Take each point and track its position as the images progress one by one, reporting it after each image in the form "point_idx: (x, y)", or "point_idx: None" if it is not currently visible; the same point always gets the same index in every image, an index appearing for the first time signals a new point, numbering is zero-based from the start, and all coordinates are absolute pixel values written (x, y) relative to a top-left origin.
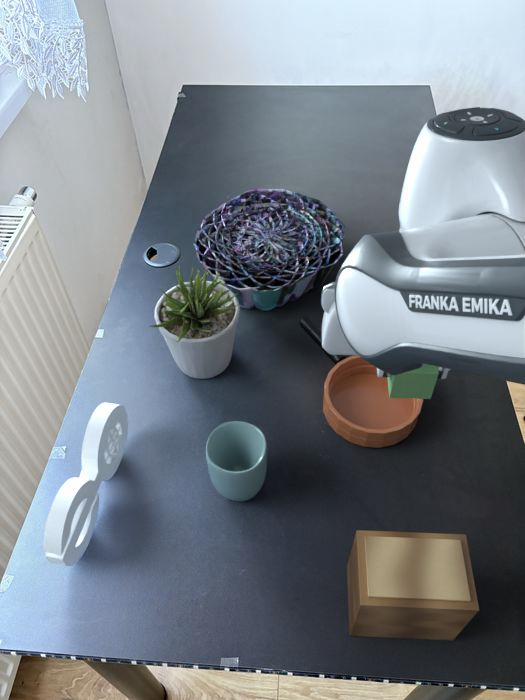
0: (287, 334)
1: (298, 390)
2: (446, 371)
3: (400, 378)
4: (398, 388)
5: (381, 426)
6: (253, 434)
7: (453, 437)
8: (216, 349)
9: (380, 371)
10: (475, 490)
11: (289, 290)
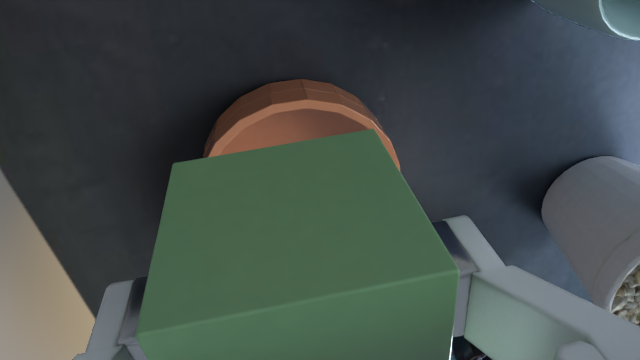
0: None
1: (426, 171)
2: (99, 339)
3: (390, 233)
4: (361, 175)
5: (271, 130)
6: (608, 14)
7: (124, 138)
8: (631, 211)
9: (484, 249)
10: (48, 22)
11: (462, 343)
